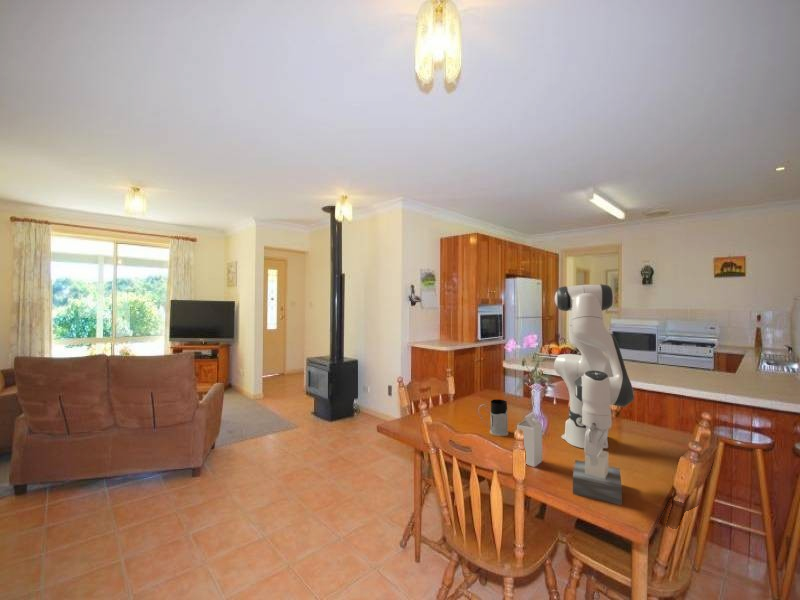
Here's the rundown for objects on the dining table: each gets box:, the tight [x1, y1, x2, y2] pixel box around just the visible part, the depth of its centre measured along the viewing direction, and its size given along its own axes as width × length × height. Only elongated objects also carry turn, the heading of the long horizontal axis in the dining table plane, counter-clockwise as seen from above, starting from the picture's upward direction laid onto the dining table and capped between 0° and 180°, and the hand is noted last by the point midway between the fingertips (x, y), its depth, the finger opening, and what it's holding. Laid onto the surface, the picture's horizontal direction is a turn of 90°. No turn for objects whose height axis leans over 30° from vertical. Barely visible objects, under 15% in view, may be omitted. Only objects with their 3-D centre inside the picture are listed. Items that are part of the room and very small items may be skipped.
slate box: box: [572, 459, 623, 506], centre depth 123 cm, size 14×14×6 cm
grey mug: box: [478, 399, 509, 437], centre depth 174 cm, size 9×14×15 cm, turn 90°
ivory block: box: [584, 450, 610, 479], centre depth 123 cm, size 6×6×7 cm
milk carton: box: [516, 411, 543, 468], centre depth 144 cm, size 7×7×19 cm
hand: (596, 459), depth 123 cm, fingers open, 8 cm apart
